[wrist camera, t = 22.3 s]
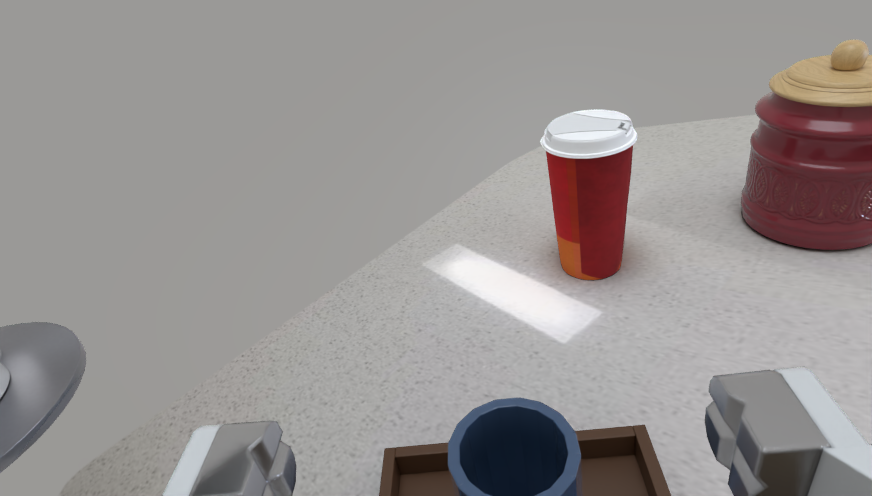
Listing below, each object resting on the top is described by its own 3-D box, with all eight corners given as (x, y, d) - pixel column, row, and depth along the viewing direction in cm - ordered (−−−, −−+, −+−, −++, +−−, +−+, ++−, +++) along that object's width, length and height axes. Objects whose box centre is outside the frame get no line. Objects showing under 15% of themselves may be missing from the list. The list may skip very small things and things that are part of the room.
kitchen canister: (918, 252, 48) (994, 51, 39) (756, 254, 52) (790, 70, 42) (858, 185, 59) (907, 14, 49) (726, 191, 62) (748, 32, 53)
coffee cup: (641, 247, 56) (647, 107, 48) (621, 294, 50) (624, 144, 42) (563, 236, 60) (556, 106, 52) (536, 278, 54) (524, 140, 47)
